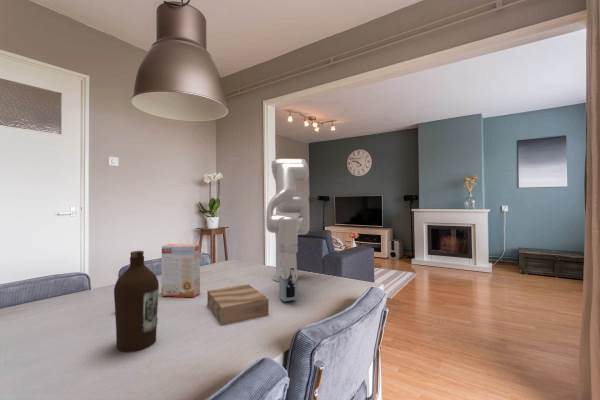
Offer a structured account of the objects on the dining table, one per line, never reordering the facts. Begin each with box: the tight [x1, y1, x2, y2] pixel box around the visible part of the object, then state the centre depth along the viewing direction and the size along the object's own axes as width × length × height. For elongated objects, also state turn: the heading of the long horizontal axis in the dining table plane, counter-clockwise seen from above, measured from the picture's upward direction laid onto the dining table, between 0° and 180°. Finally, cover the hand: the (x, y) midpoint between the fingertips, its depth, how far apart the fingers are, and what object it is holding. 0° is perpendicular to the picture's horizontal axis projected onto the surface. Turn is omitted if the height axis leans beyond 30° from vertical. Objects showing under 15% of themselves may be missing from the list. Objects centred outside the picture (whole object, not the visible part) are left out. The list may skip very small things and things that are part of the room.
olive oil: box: [113, 250, 160, 353], centre depth 79 cm, size 11×11×25 cm
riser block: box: [206, 283, 270, 326], centre depth 103 cm, size 20×16×6 cm
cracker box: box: [161, 243, 201, 298], centre depth 120 cm, size 14×6×21 cm, turn 84°
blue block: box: [278, 276, 298, 302], centre depth 112 cm, size 6×6×8 cm
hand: (287, 294), depth 113 cm, fingers closed on blue block, 5 cm apart
